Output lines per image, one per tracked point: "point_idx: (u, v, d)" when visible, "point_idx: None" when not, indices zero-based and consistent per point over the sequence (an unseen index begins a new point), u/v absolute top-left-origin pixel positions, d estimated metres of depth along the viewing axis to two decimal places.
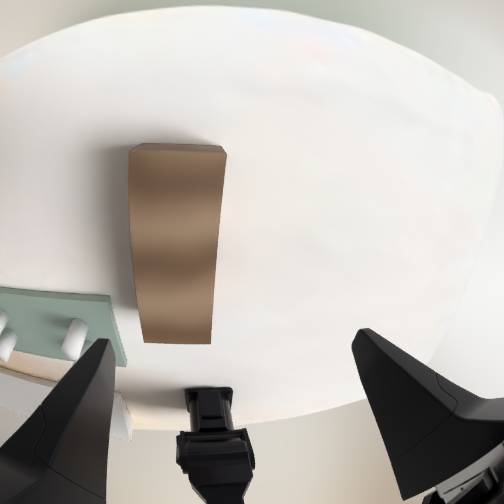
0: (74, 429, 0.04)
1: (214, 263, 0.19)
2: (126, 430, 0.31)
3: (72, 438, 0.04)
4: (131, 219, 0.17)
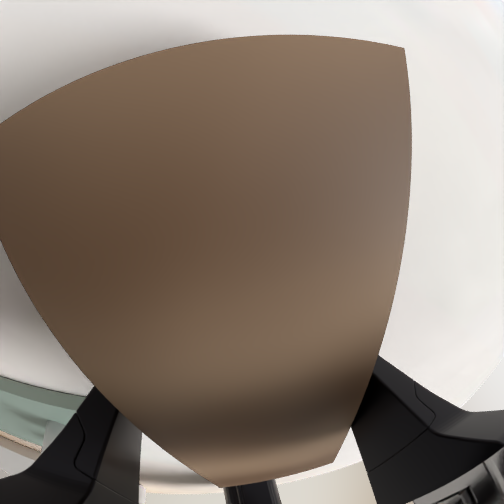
0: (115, 436, 0.04)
1: (361, 393, 0.06)
2: None
3: (113, 446, 0.04)
4: (90, 374, 0.04)
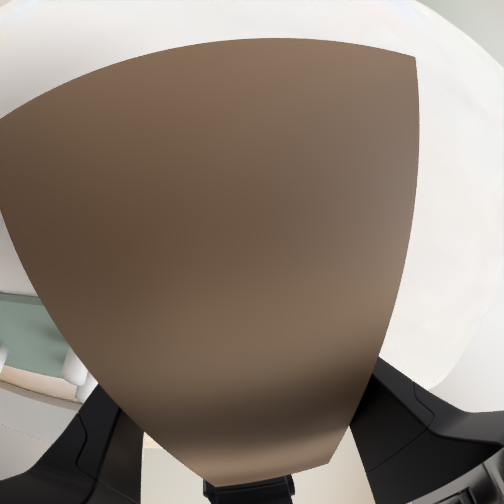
0: (117, 436, 0.04)
1: (360, 392, 0.06)
2: None
3: (115, 446, 0.04)
4: (93, 369, 0.04)
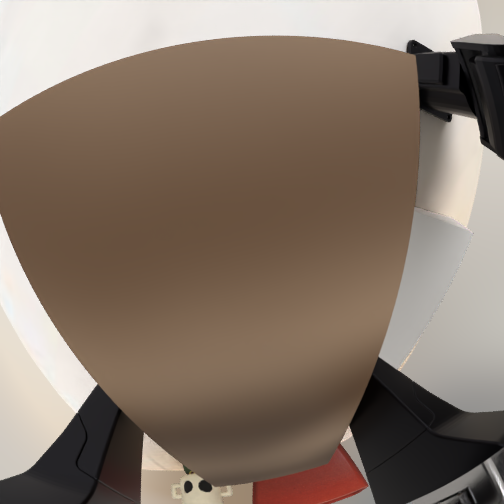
0: (117, 436, 0.04)
1: (360, 393, 0.06)
2: (457, 228, 0.21)
3: (115, 446, 0.04)
4: (91, 369, 0.04)
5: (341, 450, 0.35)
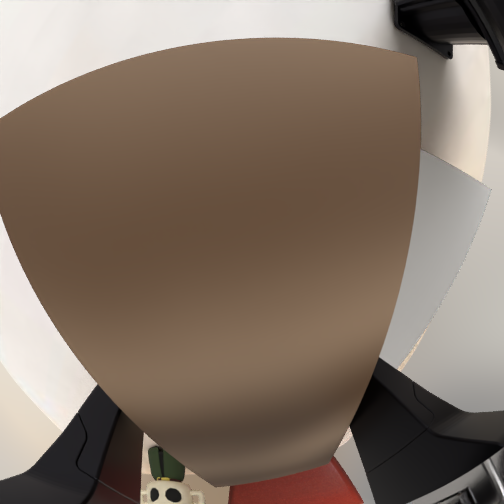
0: (117, 436, 0.04)
1: (361, 393, 0.06)
2: (472, 179, 0.15)
3: (115, 446, 0.04)
4: (92, 371, 0.04)
5: (332, 461, 0.29)
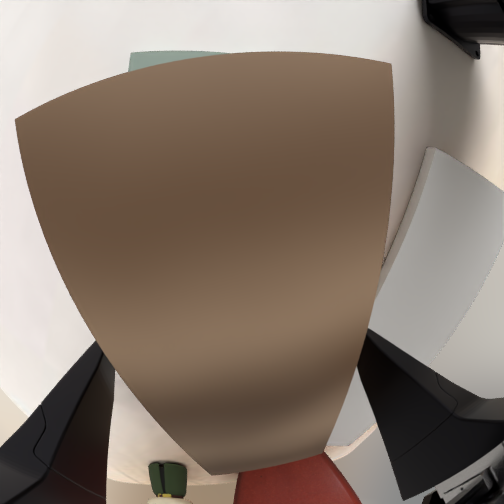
0: (74, 429, 0.04)
1: (351, 373, 0.07)
2: (501, 192, 0.13)
3: (72, 438, 0.04)
4: (101, 340, 0.05)
5: (339, 477, 0.27)
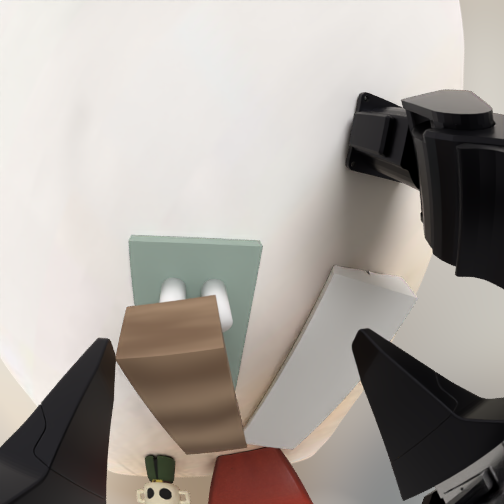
0: (74, 429, 0.04)
1: (237, 412, 0.17)
2: (398, 293, 0.23)
3: (72, 438, 0.04)
4: (144, 400, 0.15)
5: (291, 472, 0.37)
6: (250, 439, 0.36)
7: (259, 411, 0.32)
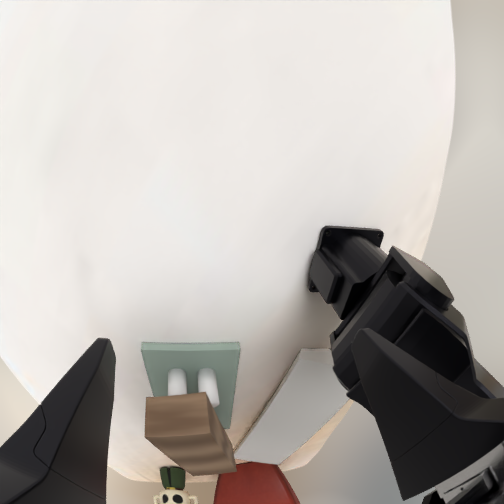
0: (74, 429, 0.04)
1: (224, 456, 0.23)
2: None
3: (72, 438, 0.04)
4: (163, 452, 0.21)
5: (282, 482, 0.42)
6: (242, 456, 0.42)
7: (248, 438, 0.38)
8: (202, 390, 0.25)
